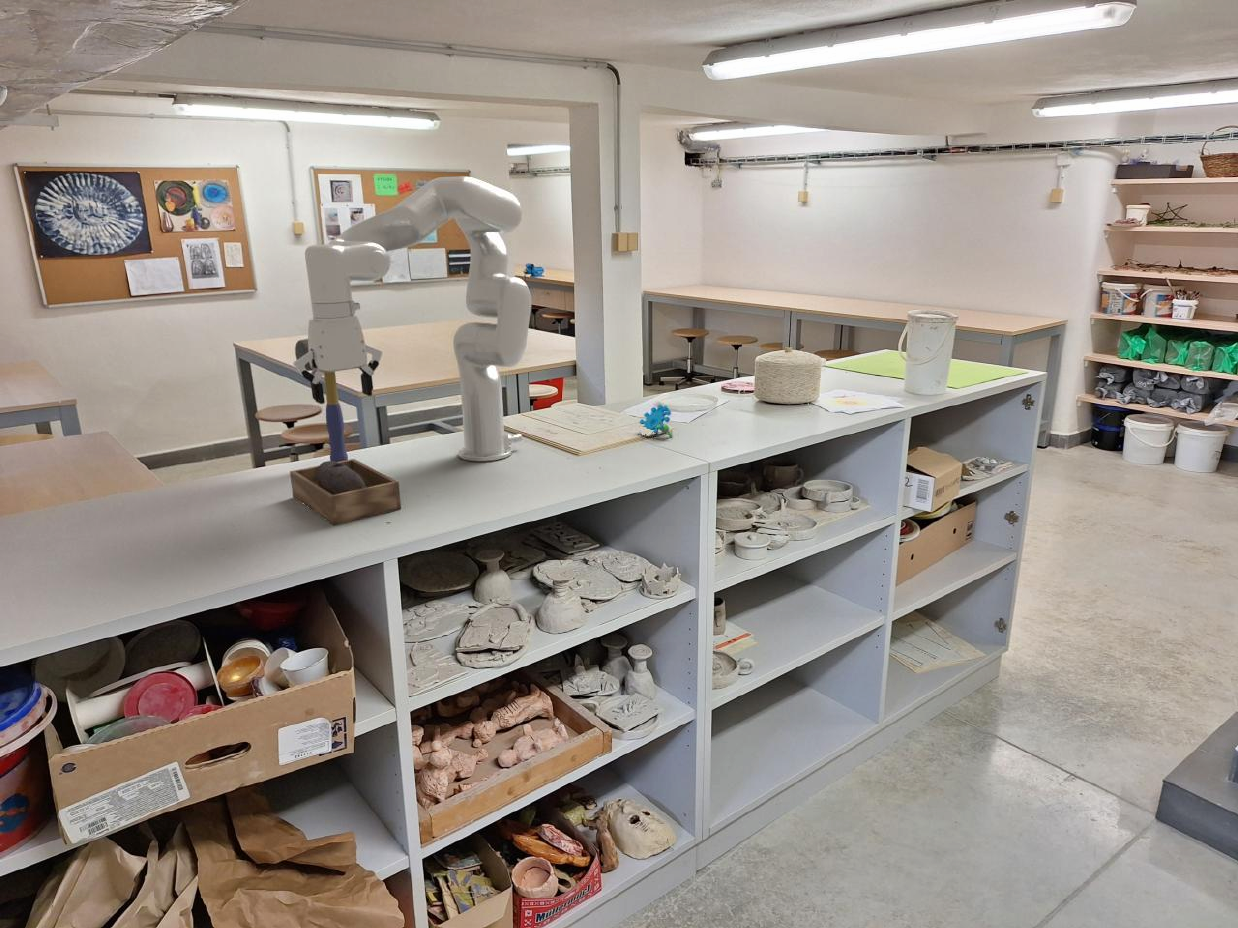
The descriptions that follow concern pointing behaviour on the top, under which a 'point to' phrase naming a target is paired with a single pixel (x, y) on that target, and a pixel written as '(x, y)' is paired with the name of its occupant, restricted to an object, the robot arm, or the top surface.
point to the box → (347, 494)
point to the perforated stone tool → (338, 478)
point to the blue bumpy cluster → (657, 419)
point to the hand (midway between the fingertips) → (344, 398)
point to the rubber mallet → (329, 408)
